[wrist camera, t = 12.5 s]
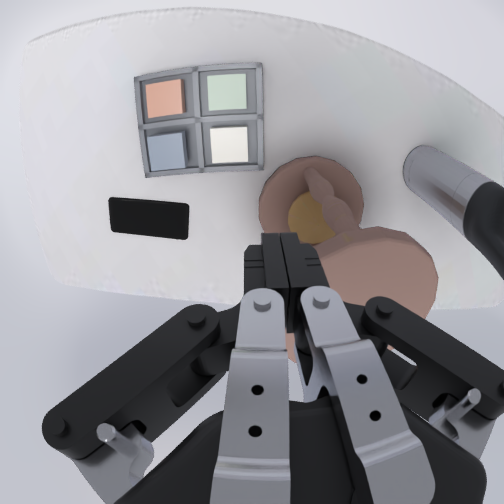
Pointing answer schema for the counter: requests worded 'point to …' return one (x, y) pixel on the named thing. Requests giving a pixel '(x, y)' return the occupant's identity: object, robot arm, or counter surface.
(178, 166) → the slate key
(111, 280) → the counter surface
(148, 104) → the terracotta key
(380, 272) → the hourglass
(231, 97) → the sage key
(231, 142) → the cream key
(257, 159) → the keypad
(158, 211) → the smartphone
